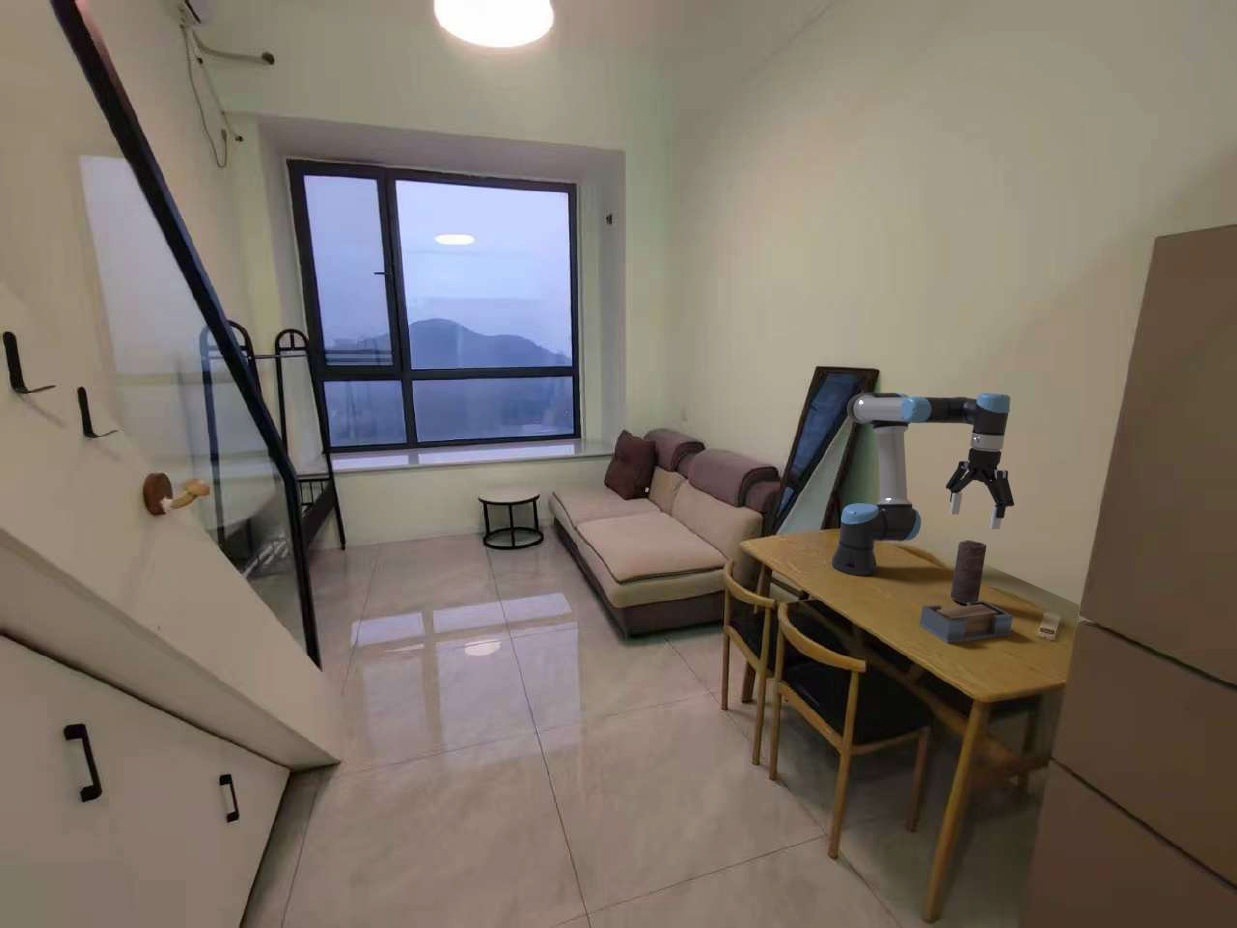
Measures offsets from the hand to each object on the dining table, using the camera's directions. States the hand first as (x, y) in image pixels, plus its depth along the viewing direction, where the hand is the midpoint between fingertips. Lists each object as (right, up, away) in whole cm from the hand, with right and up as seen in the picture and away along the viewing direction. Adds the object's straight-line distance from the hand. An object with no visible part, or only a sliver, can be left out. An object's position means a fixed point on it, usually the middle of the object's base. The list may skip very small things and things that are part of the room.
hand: (973, 521), depth 153 cm
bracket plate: (-5, -31, -3) cm, 31 cm away
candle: (+7, -27, +15) cm, 32 cm away
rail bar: (-5, -30, -3) cm, 30 cm away
